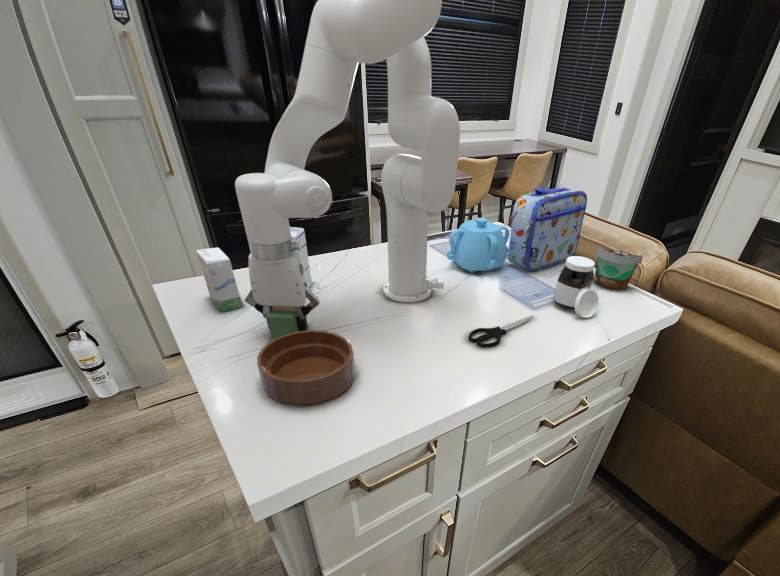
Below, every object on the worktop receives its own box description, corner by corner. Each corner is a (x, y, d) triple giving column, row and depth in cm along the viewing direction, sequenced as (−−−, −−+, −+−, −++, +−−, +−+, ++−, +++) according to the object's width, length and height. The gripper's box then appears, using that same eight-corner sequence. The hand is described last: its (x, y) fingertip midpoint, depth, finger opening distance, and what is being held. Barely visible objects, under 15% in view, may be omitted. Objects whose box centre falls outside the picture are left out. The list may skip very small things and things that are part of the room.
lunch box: (525, 278, 119) (540, 197, 106) (498, 266, 125) (509, 188, 112) (578, 258, 135) (597, 185, 121) (552, 248, 141) (567, 177, 127)
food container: (586, 286, 118) (596, 251, 112) (588, 278, 122) (598, 244, 116) (631, 295, 114) (644, 260, 108) (632, 287, 119) (644, 253, 113)
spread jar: (563, 293, 113) (573, 251, 106) (603, 306, 108) (617, 263, 101) (544, 309, 105) (554, 264, 98) (587, 324, 100) (600, 278, 93)
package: (305, 326, 92) (301, 301, 88) (297, 343, 86) (292, 317, 82) (282, 325, 91) (277, 300, 88) (272, 342, 86) (266, 316, 82)
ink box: (243, 307, 97) (230, 258, 89) (221, 312, 94) (205, 262, 87) (231, 293, 102) (218, 245, 94) (210, 298, 99) (194, 249, 92)
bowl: (360, 355, 84) (358, 331, 81) (347, 408, 71) (344, 383, 68) (279, 352, 83) (273, 328, 80) (250, 405, 70) (243, 379, 67)
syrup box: (313, 283, 109) (304, 227, 100) (304, 293, 104) (295, 235, 95) (291, 281, 109) (281, 224, 100) (282, 290, 104) (270, 232, 95)
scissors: (521, 311, 103) (463, 337, 92) (521, 308, 102) (463, 334, 91) (542, 322, 99) (485, 351, 88) (543, 319, 98) (485, 347, 87)
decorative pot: (490, 281, 116) (497, 232, 108) (440, 267, 122) (443, 220, 113) (511, 263, 128) (519, 218, 120) (465, 251, 133) (469, 207, 125)
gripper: (322, 243, 81) (333, 324, 92) (232, 239, 80) (254, 322, 91) (313, 257, 75) (326, 343, 86) (216, 253, 74) (242, 340, 85)
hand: (289, 331), depth 88 cm, fingers closed on package, 5 cm apart
